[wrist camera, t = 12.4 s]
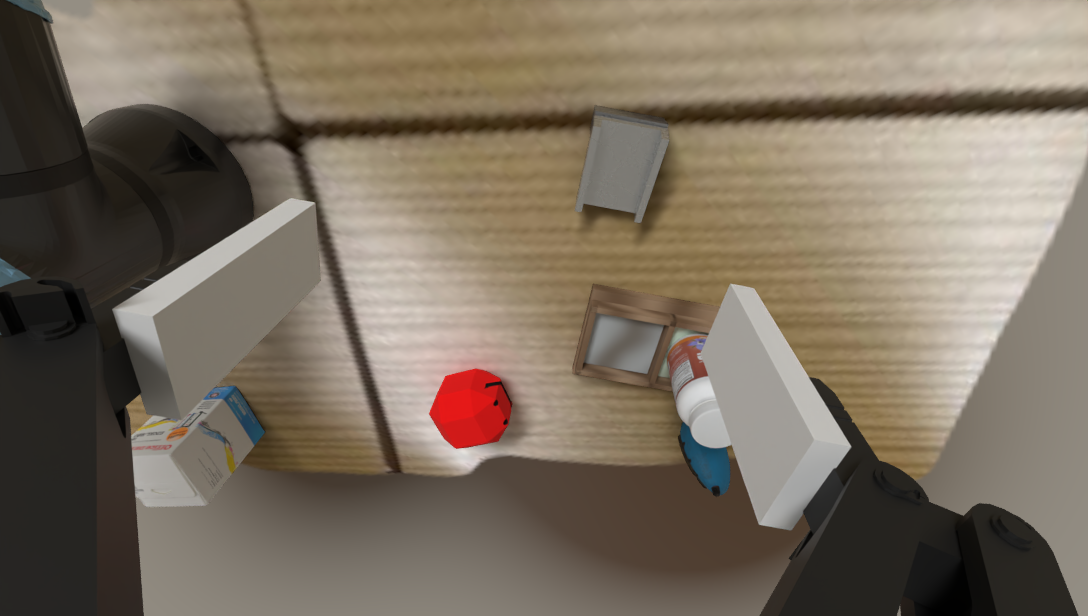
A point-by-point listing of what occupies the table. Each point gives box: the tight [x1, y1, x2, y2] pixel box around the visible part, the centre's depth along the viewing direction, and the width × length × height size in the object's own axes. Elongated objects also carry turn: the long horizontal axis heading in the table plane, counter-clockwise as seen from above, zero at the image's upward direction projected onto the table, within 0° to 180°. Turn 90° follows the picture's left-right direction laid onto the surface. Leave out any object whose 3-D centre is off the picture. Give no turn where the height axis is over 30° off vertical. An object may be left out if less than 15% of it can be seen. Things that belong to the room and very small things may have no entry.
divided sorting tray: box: [572, 284, 720, 391], centre depth 53 cm, size 17×11×3 cm, turn 81°
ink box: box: [131, 386, 265, 507], centre depth 60 cm, size 9×8×12 cm
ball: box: [429, 369, 512, 449], centre depth 56 cm, size 8×8×8 cm
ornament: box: [678, 422, 730, 496], centre depth 55 cm, size 8×5×10 cm, turn 34°
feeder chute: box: [575, 105, 669, 223], centre depth 42 cm, size 6×8×5 cm
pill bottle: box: [667, 334, 732, 448], centre depth 48 cm, size 6×6×11 cm
